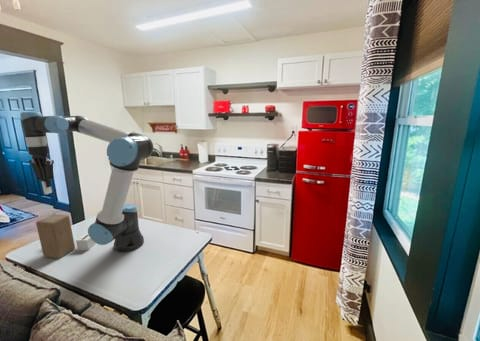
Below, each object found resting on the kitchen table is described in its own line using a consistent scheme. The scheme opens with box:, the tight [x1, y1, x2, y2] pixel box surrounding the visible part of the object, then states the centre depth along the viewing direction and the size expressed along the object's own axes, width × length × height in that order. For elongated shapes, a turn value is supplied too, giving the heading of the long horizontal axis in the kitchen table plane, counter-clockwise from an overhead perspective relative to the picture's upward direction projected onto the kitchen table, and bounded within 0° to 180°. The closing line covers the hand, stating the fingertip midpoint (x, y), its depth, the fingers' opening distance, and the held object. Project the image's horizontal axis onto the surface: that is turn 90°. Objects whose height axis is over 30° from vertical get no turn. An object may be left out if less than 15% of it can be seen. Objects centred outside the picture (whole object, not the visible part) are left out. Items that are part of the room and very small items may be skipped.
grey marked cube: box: [75, 234, 97, 251], centre depth 126 cm, size 6×6×6 cm
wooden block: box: [35, 213, 76, 260], centre depth 119 cm, size 10×10×20 cm
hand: (48, 193), depth 114 cm, fingers closed
